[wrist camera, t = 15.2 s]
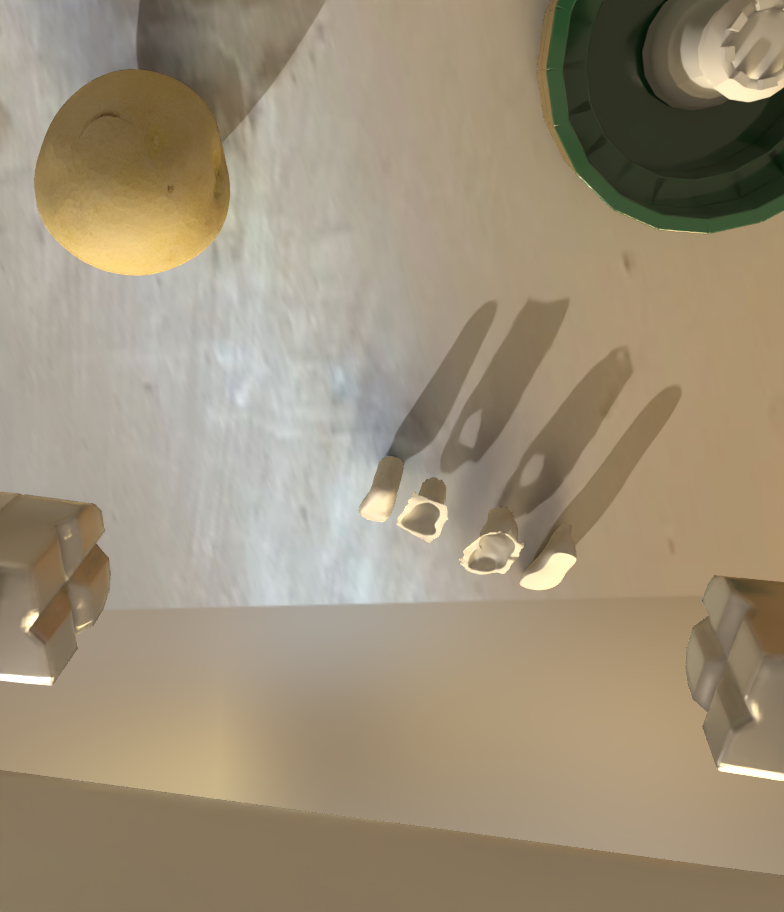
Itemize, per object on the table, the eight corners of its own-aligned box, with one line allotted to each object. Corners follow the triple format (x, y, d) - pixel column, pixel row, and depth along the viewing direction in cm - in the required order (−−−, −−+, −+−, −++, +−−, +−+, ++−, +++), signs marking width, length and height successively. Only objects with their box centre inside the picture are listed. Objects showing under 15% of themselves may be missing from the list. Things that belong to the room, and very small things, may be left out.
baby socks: (373, 484, 37) (386, 442, 38) (347, 530, 41) (359, 491, 43) (590, 564, 38) (594, 521, 40) (542, 600, 43) (547, 560, 44)
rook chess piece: (688, 134, 31) (751, 155, 24) (616, 53, 30) (660, 51, 23) (781, 42, 29) (880, 36, 22) (708, -48, 28) (788, -85, 21)
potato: (279, 220, 35) (231, 260, 28) (134, 269, 36) (54, 319, 29) (212, 44, 31) (137, 40, 24) (56, 108, 33) (-55, 121, 26)
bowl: (565, -147, 27) (583, -187, 23) (905, -126, 27) (990, -163, 22) (517, 197, 33) (523, 218, 29) (795, 221, 33) (845, 246, 28)
